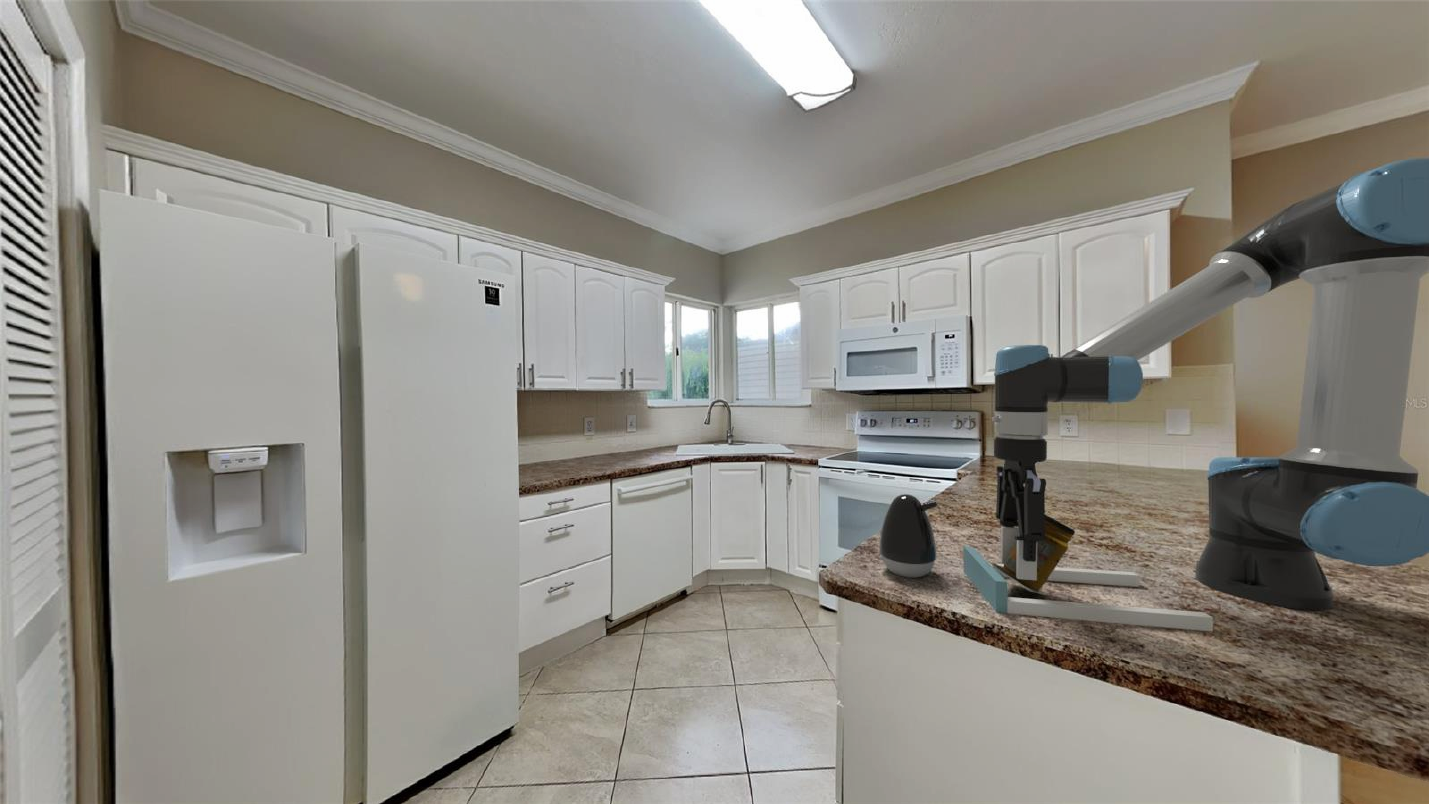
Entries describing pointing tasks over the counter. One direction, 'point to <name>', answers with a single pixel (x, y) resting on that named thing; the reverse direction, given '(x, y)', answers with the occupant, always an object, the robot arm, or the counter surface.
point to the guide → (996, 595)
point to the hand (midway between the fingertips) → (1017, 570)
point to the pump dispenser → (908, 537)
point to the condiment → (1042, 555)
